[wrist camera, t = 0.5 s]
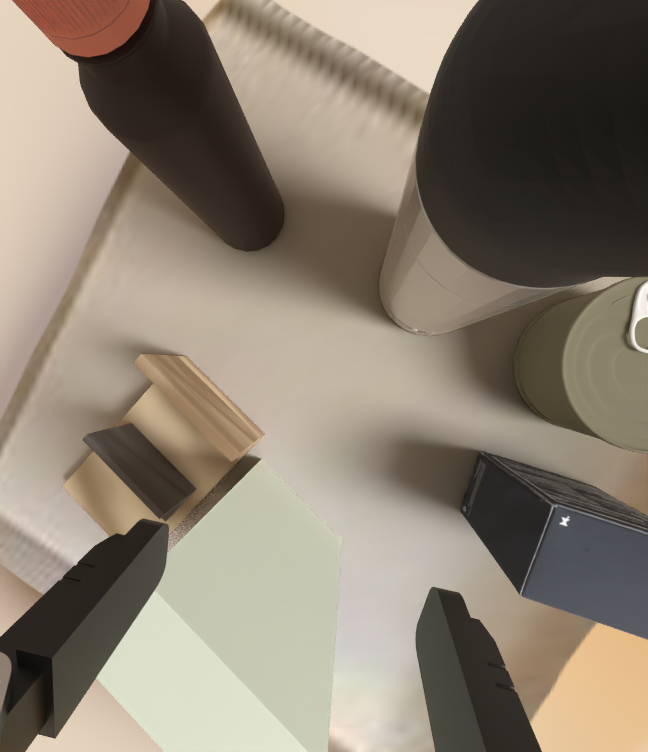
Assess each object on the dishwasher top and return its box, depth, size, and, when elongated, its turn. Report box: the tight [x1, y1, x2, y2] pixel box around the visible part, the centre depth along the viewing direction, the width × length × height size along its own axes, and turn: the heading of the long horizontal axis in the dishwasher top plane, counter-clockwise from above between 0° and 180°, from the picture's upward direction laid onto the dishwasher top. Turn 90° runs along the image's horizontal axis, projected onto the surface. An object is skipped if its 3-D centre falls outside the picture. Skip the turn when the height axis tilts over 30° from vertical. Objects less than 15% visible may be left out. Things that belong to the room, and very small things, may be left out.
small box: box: [461, 452, 648, 640], centre depth 23 cm, size 11×6×10 cm, turn 73°
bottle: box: [13, 0, 284, 251], centre depth 19 cm, size 7×7×20 cm
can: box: [513, 277, 648, 454], centre depth 24 cm, size 12×12×7 cm
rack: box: [62, 354, 264, 537], centre depth 28 cm, size 18×11×6 cm, turn 136°
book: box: [96, 459, 343, 752], centre depth 22 cm, size 5×11×17 cm, turn 46°
